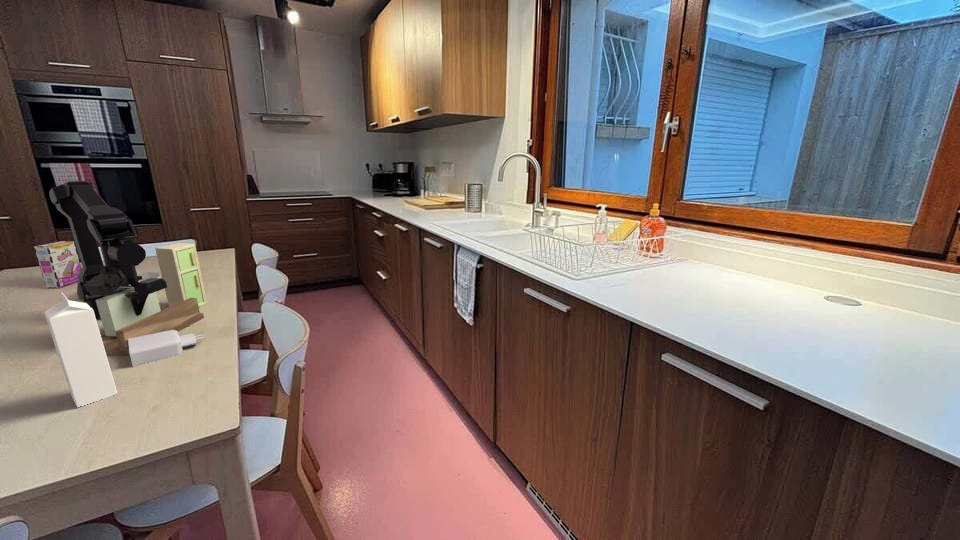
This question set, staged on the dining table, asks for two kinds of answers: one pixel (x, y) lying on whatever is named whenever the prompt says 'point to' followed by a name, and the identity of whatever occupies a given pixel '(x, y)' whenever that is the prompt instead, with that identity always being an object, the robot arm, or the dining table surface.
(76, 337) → the milk
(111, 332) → the door panel
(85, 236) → the robot arm
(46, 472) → the dining table surface
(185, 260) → the toy refrigerator
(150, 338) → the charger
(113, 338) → the cabinet base
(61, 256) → the candy bar box
